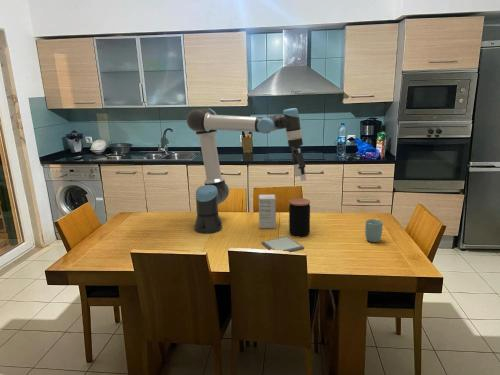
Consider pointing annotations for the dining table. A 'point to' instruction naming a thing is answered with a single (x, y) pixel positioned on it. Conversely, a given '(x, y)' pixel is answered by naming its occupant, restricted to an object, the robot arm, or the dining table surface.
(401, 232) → the dining table surface
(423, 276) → the dining table surface
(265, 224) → the supplement box
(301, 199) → the coffee jar
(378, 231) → the cup
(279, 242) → the mat
